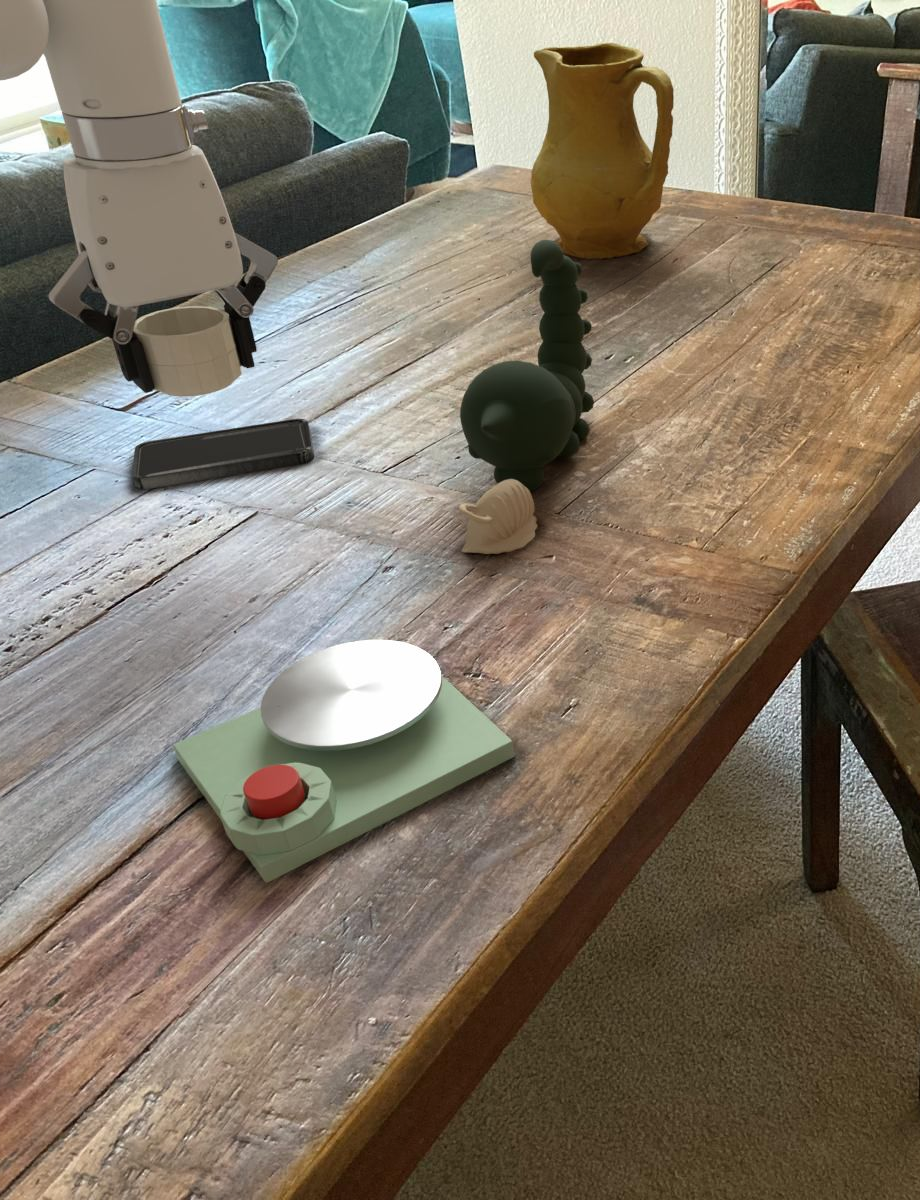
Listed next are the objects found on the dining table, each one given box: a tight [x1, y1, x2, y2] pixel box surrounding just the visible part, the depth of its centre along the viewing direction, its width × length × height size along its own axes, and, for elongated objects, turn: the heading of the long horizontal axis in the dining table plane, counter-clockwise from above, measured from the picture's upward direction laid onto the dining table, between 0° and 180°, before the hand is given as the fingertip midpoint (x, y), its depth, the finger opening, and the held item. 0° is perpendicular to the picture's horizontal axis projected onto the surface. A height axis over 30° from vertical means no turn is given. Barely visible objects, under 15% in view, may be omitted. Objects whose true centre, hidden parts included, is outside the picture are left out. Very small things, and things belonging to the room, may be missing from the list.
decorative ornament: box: [458, 479, 538, 555], centre depth 96 cm, size 4×8×5 cm, turn 150°
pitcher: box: [530, 42, 675, 260], centre depth 156 cm, size 17×19×25 cm
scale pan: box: [260, 639, 443, 751], centre depth 76 cm, size 11×11×1 cm
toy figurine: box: [459, 239, 595, 492], centre depth 106 cm, size 9×19×25 cm
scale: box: [172, 675, 516, 884], centre depth 75 cm, size 16×14×3 cm
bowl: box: [133, 305, 243, 398], centre depth 93 cm, size 7×7×5 cm
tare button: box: [243, 765, 305, 819], centre depth 68 cm, size 3×3×2 cm
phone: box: [131, 418, 315, 490], centre depth 110 cm, size 8×1×15 cm
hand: (194, 373), depth 93 cm, fingers closed on bowl, 6 cm apart
